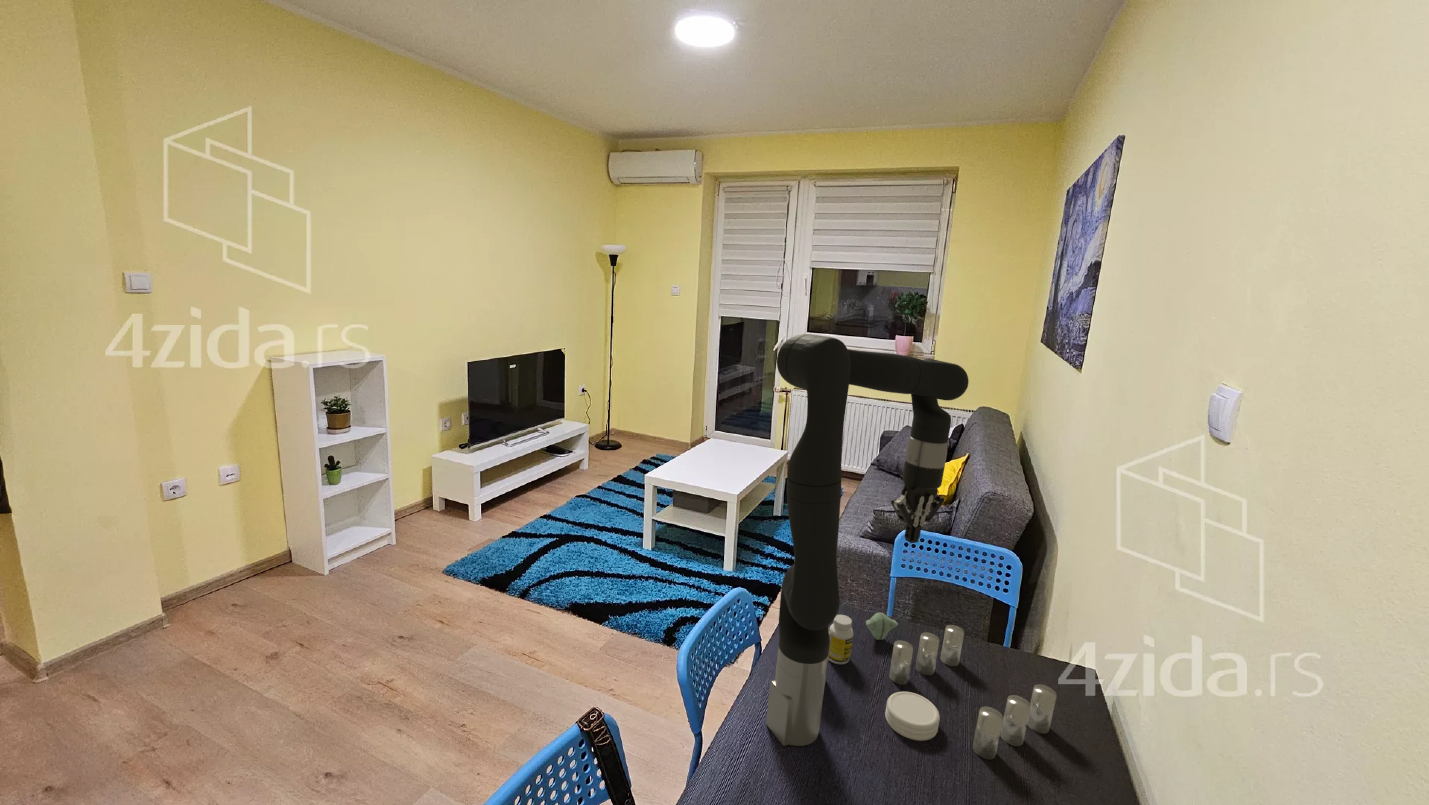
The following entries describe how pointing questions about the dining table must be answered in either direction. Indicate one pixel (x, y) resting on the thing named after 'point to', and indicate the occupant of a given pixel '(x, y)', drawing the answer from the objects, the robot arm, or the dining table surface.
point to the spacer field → (989, 718)
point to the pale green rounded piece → (880, 625)
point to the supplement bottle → (841, 639)
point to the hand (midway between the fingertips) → (911, 541)
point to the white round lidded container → (912, 716)
